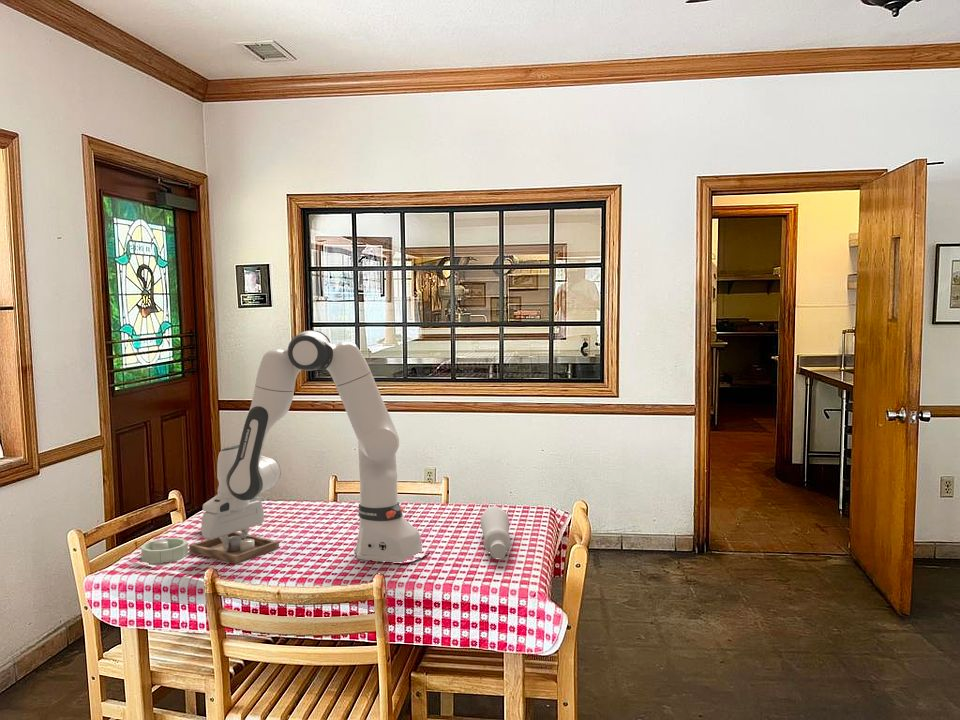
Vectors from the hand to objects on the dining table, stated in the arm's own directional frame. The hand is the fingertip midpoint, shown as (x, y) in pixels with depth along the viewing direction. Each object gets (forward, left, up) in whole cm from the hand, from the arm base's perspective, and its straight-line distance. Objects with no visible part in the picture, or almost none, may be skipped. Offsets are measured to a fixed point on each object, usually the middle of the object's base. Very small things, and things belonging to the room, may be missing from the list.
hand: (234, 546), depth 209 cm
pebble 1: (+15, +14, -1) cm, 20 cm away
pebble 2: (0, 0, -1) cm, 1 cm away
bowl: (+13, +14, -2) cm, 19 cm away
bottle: (-64, -44, -2) cm, 77 cm away
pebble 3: (-5, 0, -1) cm, 6 cm away
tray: (0, 0, -2) cm, 2 cm away
